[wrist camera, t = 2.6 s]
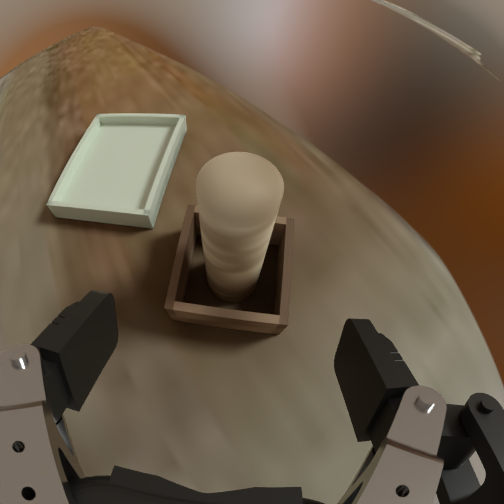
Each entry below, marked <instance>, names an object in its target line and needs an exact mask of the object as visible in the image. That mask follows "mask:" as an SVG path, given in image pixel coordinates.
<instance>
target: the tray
mask: <svg viewBox="0 0 504 504" xmlns="http://www.w3.org/2000/svg"><path fill="white" fill-rule="evenodd" d="M186 131H187V127H186V116H185V115H175V114H138V113H125V114H97V115H96V117H95V118H94V120H93V121H92V123H91V124H90V126H89V128H88V129H87V131H86V132H85V134H84V136H83V137H82V139H81V140H80V142H79V144H78V145H77V147H76V149H75V151H74V152H73V154H72V156H71V158H70V159H69V161H68V163H67V165H66V167H65V168H64V170H63V172H62V174H61V176H60V178H59V180H58V182H57V184H56V186H55V188H54V190H53V192H52V194H51V196H50V198H49V200H48V202H47V204H46V205H47V207H48V208H49V209H50V211H51V212H52V213H53V215H54V216H55V217H59V218H68V219H76V220H84V221H93V222H101V223H109V224H117V225H126V226H134V227H142V228H150V229H153V228H154V225H155V221H156V218H157V215H158V211H159V208H160V205H161V202H162V199H163V196H164V192H165V189H166V186H167V183H168V180H169V177H170V175H171V172H172V169H173V166H174V163H175V160H176V157H177V155H178V152H179V149H180V146H181V144H182V141H183V138H184V136H185V133H186Z"/></svg>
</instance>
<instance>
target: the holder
mask: <svg viewBox="0 0 504 504" xmlns="http://www.w3.org/2000/svg"><path fill="white" fill-rule="evenodd" d="M293 234H294V219H292V218H285V217H278V216H277V217H276V220H275V224H274V227H273V231H272V234H271V237H270V241H269V244H272V245H279V247H278V260H277V273H276V285H275V297H274V308H273V315H272V314H264V313H255V312H247V311H239V310H232V309H224V308H217V307H210V306H203V305H197V304H190V303H184V297H185V292H186V287H187V282H188V277H189V272H190V267H191V262H192V257H193V252H194V247H195V243H196V238H197V235H201V228H200V220H199V211H198V206H194V205H188V207H187V210H186V214H185V218H184V222H183V226H182V230H181V234H180V238H179V242H178V247H177V251H176V255H175V260H174V264H173V268H172V273H171V278H170V282H169V287H168V292H167V296H166V301H165V306H164V309H165V310H166V311H167V313H168V314H169V316H170V317H171V318H172V320H175V321H181V322H187V323H193V324H200V325H207V326H213V327H220V328H228V329H235V330H243V331H251V332H260V333H269V334H278V335H279V334H280V333H281V332H282V331H283V330H284V329H285V328H286V327H287V326H288V318H289V304H290V289H291V273H292V255H293Z"/></svg>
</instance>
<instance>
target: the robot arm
mask: <svg viewBox="0 0 504 504" xmlns="http://www.w3.org/2000/svg"><path fill="white" fill-rule="evenodd" d="M117 341H118V328H117V320H116V311H115V302H114V297H113V295H112V294H111V293H105V292H99V291H93V290H92V291H90V292H89V293H88V294H87V295H86V296H85V297H84V298H83V299H82V300H81V301H80V302H76V303H74V304H72V305H70V306H68V307H66V308H65V309H64V310H63V311H62V312H61V313H60V314H59V315H58V317H56V318H55V319H54V320H53V321H52V324H51V323H50V324H49V325H48V327H47V328H46V329H45V330H44V331H43V332H42V333H41V334H40V335H39V336H38V337H37V338H36V339H35V340H34V341H33V343H32V344H31V345H29V344H16V345H13V346H10V347H8V348H7V349H5V350H4V351H3V352H2V353H1V355H0V504H324V503H321V502H319V501H315V500H311V499H307V498H302V490H301V487H280V488H268V487H253V488H247V489H241V490H234V491H227V492H218V493H201V492H198V491H195V490H192V489H189V488H187V487H184V486H181V485H179V484H176V483H174V482H171V481H169V480H166V479H164V478H162V477H159V476H156V475H151V474H147V473H142V472H138V471H134V470H130V469H126V468H122V467H119V466H115V465H114V468H113V471H112V474H111V476H92V477H85V475H84V473H83V471H82V469H81V467H80V464H79V462H78V459H77V456H76V453H75V450H74V447H73V444H72V441H71V438H70V435H69V431H68V428H67V424H66V421H65V418H64V415H63V412H64V411H65V409H66V407H67V408H69V409H72V410H75V411H78V412H79V411H80V409H81V407H82V405H83V403H84V402H85V400H86V398H87V396H88V394H89V393H90V391H91V389H92V387H93V385H94V384H95V382H96V380H97V378H98V377H99V375H100V373H101V372H102V370H103V368H104V366H105V365H106V363H107V361H108V360H109V358H110V356H111V354H112V353H113V351H114V349H115V348H116V345H117ZM334 369H335V373H336V376H337V379H338V382H339V385H340V388H341V391H342V394H343V397H344V400H345V403H346V406H347V409H348V412H349V415H350V419H351V422H352V425H353V428H354V431H355V434H356V437H357V441H358V442H362V441H370V440H371V442H372V445H373V446H372V448H371V449H370V451H369V452H368V454H367V456H366V458H365V460H364V462H363V463H362V465H361V467H360V469H359V471H358V472H357V474H356V476H355V478H354V479H353V481H352V483H351V484H350V486H349V488H348V489H347V491H346V492H345V494H344V495H343V497H342V498H341V499H340V501H339V502H338V503H337V504H432V503H433V500H434V497H435V494H437V497H438V500H439V503H440V504H504V410H503V408H502V407H501V405H500V404H499V402H498V401H497V400H496V399H495V398H493V397H492V396H490V395H488V394H485V393H475V394H473V395H471V396H470V398H469V399H468V401H467V402H466V404H465V405H464V406H463V405H452V404H446V402H445V400H444V398H443V397H442V395H441V394H439V393H438V392H437V391H435V390H434V389H432V388H429V387H426V386H419V384H418V383H417V381H416V380H415V378H414V376H413V375H412V373H411V371H410V370H409V368H408V367H407V365H406V363H405V362H404V361H402V357H401V355H400V354H399V353H398V351H397V349H396V348H395V346H394V345H393V343H392V342H391V341H390V340H389V339H388V338H386V337H385V336H384V335H383V334H381V333H378V332H377V331H376V329H375V327H374V326H373V324H372V323H371V321H370V320H369V319H347V320H346V322H345V325H344V328H343V331H342V335H341V338H340V341H339V344H338V348H337V351H336V354H335V359H334ZM475 451H476V452H477V454H478V456H479V458H480V460H481V462H482V464H483V466H484V468H485V471H486V478H485V481H484V483H483V484H482V486H480V484H479V481H478V479H477V477H476V474H475V472H474V470H473V468H472V466H471V463H470V461H469V458H470V457H471V456H472V454H473V453H474V452H475Z"/></svg>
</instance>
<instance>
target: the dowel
mask: <svg viewBox="0 0 504 504" xmlns="http://www.w3.org/2000/svg"><path fill="white" fill-rule="evenodd" d="M283 192H284V183H283V179H282V176H281V174H280V173H279V171H278V170H277V168H276V167H275V166H274V165H273V164H272V163H270V162H269V161H268V160H266V159H264V158H263V157H261V156H258V155H255V154H252V153H247V152H230V153H225V154H222V155H219V156H216V157H214V158H213V159H211V160H210V161H208V162H207V163H206V164H205V165H204V166H203V167H202V168H201V170H200V171H199V173H198V176H197V179H196V193H197V202H198V211H199V220H200V228H201V237H202V245H203V252H204V260H205V267H206V275H207V282H208V286H209V288H210V290H211V292H212V293H213V294H214V295H215V296H216V297H217V298H219V299H221V300H223V301H226V302H239V301H242V300H244V299H246V298H248V297H249V296H250V295H251V294H252V293H253V291H254V290H255V288H256V285H257V281H258V278H259V275H260V271H261V268H262V265H263V261H264V258H265V254H266V251H267V248H268V244H269V241H270V237H271V234H272V231H273V227H274V224H275V220H276V217H277V213H278V210H279V206H280V203H281V200H282V196H283Z"/></svg>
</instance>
